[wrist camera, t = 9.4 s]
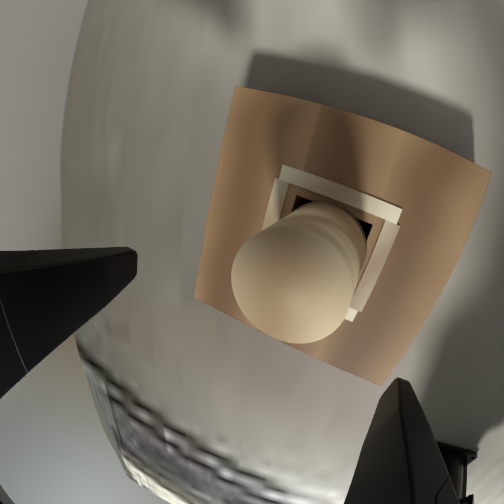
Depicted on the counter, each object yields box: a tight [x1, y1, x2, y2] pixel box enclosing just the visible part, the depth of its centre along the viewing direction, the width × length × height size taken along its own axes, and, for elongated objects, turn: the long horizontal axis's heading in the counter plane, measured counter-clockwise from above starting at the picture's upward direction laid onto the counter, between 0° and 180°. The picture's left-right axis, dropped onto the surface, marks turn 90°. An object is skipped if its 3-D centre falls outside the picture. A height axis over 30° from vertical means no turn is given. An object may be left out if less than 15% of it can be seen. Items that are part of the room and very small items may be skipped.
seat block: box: [194, 86, 491, 386], centre depth 17 cm, size 14×14×3 cm
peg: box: [231, 201, 367, 344], centre depth 14 cm, size 5×5×8 cm
